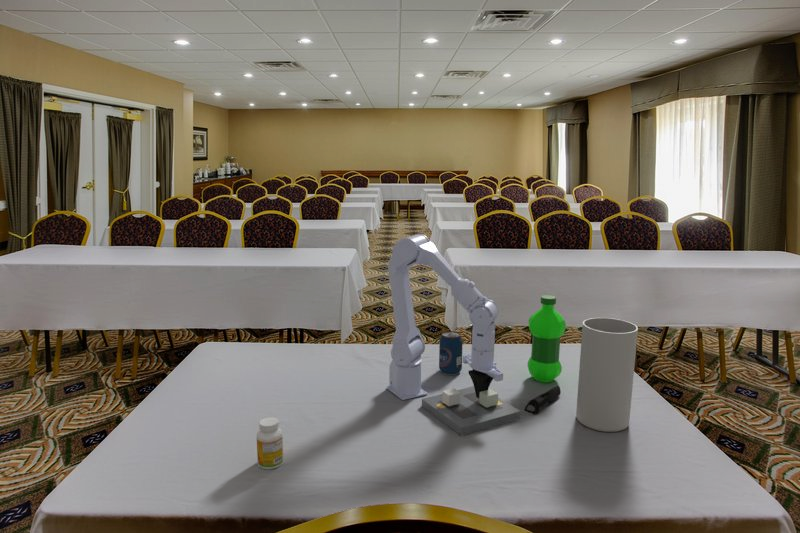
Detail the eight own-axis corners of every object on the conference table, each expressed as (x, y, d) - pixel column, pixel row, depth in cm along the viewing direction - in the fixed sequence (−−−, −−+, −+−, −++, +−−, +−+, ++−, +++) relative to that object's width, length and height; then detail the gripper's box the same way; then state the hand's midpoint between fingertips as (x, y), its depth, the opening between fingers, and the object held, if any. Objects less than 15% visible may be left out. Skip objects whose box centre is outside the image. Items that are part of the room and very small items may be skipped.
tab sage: (479, 402, 146) (479, 392, 145) (490, 400, 148) (490, 389, 147) (486, 407, 144) (486, 396, 143) (497, 404, 145) (498, 393, 145)
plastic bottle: (567, 378, 168) (573, 296, 163) (550, 389, 161) (556, 303, 155) (537, 369, 175) (541, 290, 170) (519, 379, 167) (523, 297, 162)
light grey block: (442, 401, 147) (442, 391, 146) (453, 399, 148) (454, 388, 148) (448, 406, 144) (449, 395, 143) (460, 403, 146) (460, 392, 145)
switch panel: (421, 405, 150) (421, 398, 149) (476, 392, 158) (477, 385, 158) (461, 435, 134) (461, 427, 134) (520, 418, 143) (520, 410, 143)
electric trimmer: (564, 397, 156) (564, 387, 155) (536, 416, 145) (536, 404, 144) (551, 394, 159) (552, 383, 158) (523, 411, 147) (523, 400, 147)
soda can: (434, 371, 173) (434, 333, 171) (449, 365, 178) (450, 328, 175) (451, 377, 168) (452, 339, 166) (466, 371, 173) (467, 334, 170)
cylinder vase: (590, 435, 135) (598, 334, 130) (567, 411, 147) (573, 318, 142) (639, 431, 137) (648, 332, 132) (612, 408, 149) (620, 316, 144)
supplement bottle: (260, 457, 125) (257, 416, 123) (284, 456, 125) (283, 415, 123) (256, 470, 119) (253, 428, 117) (282, 469, 120) (280, 427, 118)
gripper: (513, 354, 141) (511, 404, 144) (478, 337, 154) (476, 384, 156) (491, 358, 138) (488, 410, 141) (456, 341, 150) (455, 389, 153)
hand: (481, 397), depth 148 cm, fingers closed
